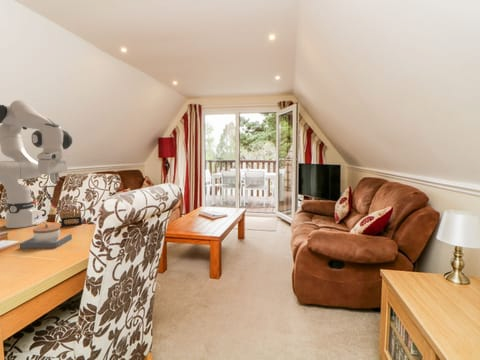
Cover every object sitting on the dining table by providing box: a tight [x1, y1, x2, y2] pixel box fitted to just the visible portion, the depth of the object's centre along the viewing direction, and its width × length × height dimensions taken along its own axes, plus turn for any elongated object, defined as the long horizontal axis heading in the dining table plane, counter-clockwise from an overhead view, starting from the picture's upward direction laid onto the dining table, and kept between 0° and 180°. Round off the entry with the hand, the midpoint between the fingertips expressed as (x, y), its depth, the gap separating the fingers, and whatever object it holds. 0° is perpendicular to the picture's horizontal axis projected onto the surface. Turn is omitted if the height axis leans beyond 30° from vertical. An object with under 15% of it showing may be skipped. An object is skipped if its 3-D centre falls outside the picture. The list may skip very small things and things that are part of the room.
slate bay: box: [19, 233, 73, 250], centre depth 134 cm, size 14×16×2 cm
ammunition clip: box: [60, 205, 83, 228], centre depth 168 cm, size 11×2×12 cm, turn 116°
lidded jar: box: [32, 224, 61, 242], centre depth 133 cm, size 11×11×9 cm
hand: (54, 181), depth 147 cm, fingers closed
